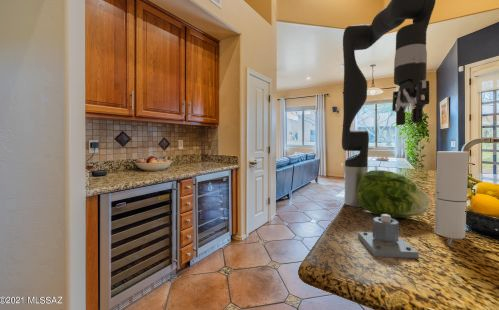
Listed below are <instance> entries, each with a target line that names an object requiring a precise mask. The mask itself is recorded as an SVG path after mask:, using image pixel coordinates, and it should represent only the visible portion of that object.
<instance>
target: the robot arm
mask: <svg viewBox="0 0 499 310" xmlns="http://www.w3.org/2000/svg"><path fill="white" fill-rule="evenodd" d="M435 6H436V0H390V1H389V3H388V4H387V5H386V7H385V8H383V9H382V10H381V11H379V12H378V13H377V14H376V15H375V17H374V18H373V20H372V22H371V23H370V24H355V25H348V26H346V27H345V29H344V31H343V36H342V52H343V53H342V54H343V90H342V92H343V93H342V95H343V96H342V99H343V116H342V117H343V119H342V134H341V149H342V150H343V151H345V152H359V154H357V155H355V156H353V157H351V158H347V159H345V160H344V202H345V203H344V205H347V206H349V207H356V208H362V207H361V205H360V204H359V203H358V201H357V189H358V185H359V182H360V180H361V178H362V176H363V175H364V174H365V173H367V172H369V171H368V168H369V166H368V165H369V164H368V163H369V160H368V159H369V146H370V145H369V142H370V134H369V132H368V130H367V129H352V130H351V127H352V124H353V121H354V119H355V118H356V116H357V114H358V113H359V112H360V110H361V109H362V107H363V106H364V105H365V102H366V101H367V98H368V81H367V78H366V77H365V75H364V73H363V72H362V70H361V69H360V67H359V66H358V63H357V61H356V55H355V51H363V50H367V49H369V48H371V47H372V46H373V45H374V44H376V42H378V41H379V39H381V38H382V37H383V36H384V35H385V34H387V33H389V32H390V31H393V30H394V29H396V28H399V27H400V26H401V25H403V24H404V22H405V21H406V20H412V22H411V23H409V24H406V25H403V26H402V27H400V28H399V29H398V30H397V32H396V36H395V53H394V61H393V62H394V63H393V64H394V65H393V67H394V68H393V84H394V85H395V86H399V87H398V90H397V91H396V90H394V91H393V92H392V104H391V105H392V106H391V107H392V108H391V110H392V112H395V113H396V114H395V116H396V117H395V118H396V119H395V121H396V122H395V125H397V126H404V125H405V124H406V110H407V108H408V106H411V107H412V108H411V123H413V124H420V123H422V122H423V110H424V108H425V106H426V105H429V104H430V81H429V80H427V65H428V63H427V62H428V52H427V30H428V27H429V25H430V21H431V17H432V14H433V12H434V11H433V10H434V8H435Z"/></svg>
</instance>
